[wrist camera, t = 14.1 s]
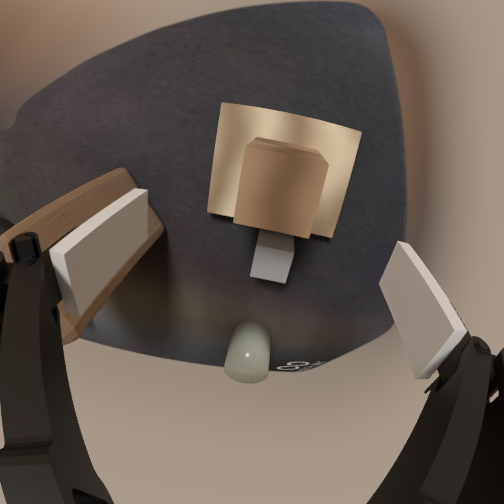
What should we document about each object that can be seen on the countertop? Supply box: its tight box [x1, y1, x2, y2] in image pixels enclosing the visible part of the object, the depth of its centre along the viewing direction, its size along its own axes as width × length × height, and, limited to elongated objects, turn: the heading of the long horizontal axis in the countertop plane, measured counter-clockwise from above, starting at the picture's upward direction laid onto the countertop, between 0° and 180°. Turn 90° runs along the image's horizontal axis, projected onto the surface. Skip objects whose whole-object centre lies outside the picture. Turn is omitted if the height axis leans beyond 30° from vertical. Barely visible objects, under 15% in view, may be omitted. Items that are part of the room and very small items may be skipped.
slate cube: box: [250, 229, 294, 283], centre depth 31 cm, size 4×4×4 cm
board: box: [207, 103, 362, 238], centre depth 27 cm, size 14×12×2 cm
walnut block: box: [233, 137, 329, 239], centre depth 23 cm, size 6×6×8 cm
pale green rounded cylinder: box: [224, 321, 272, 383], centre depth 37 cm, size 6×6×7 cm
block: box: [0, 168, 164, 345], centre depth 24 cm, size 10×10×20 cm
